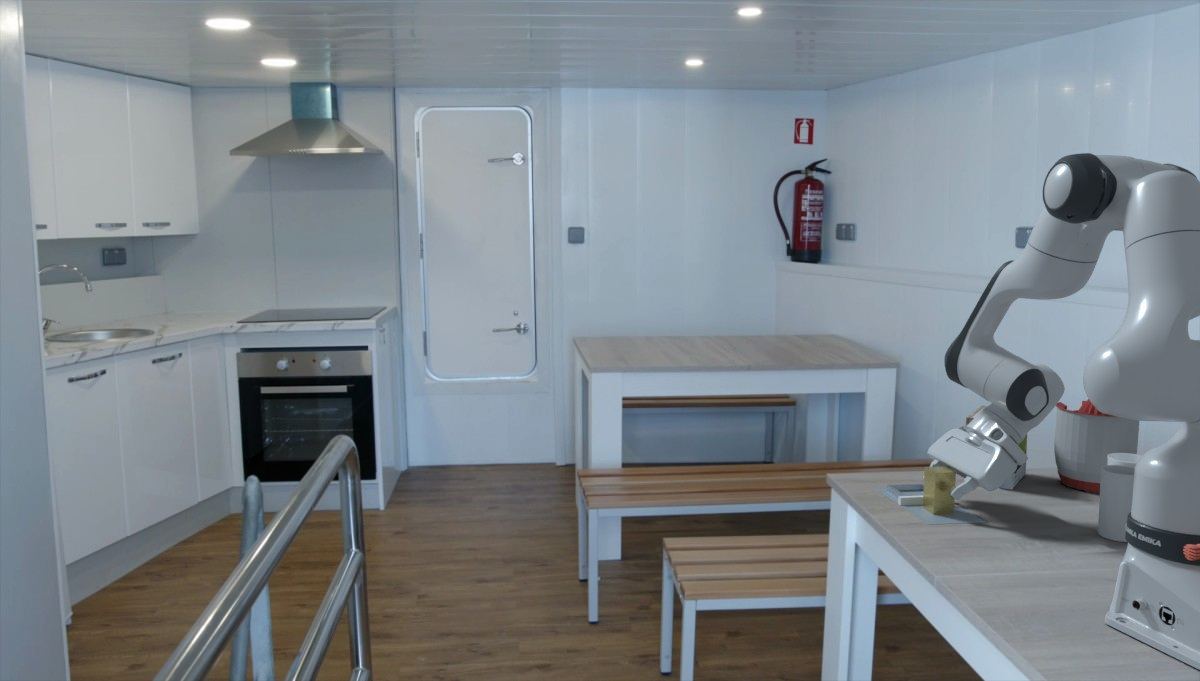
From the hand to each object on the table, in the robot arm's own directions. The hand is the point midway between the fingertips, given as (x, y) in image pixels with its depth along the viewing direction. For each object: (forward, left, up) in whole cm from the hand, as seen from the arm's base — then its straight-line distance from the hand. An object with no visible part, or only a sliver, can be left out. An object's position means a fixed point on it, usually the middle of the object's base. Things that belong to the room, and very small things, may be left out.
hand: (939, 489), depth 163 cm
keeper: (+9, 0, -5) cm, 11 cm away
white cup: (0, -39, -5) cm, 39 cm away
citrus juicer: (+15, -42, -5) cm, 45 cm away
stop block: (0, 0, -4) cm, 4 cm away
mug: (-13, -27, -5) cm, 30 cm away
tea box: (+22, -25, -5) cm, 34 cm away
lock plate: (+4, 0, -5) cm, 6 cm away
